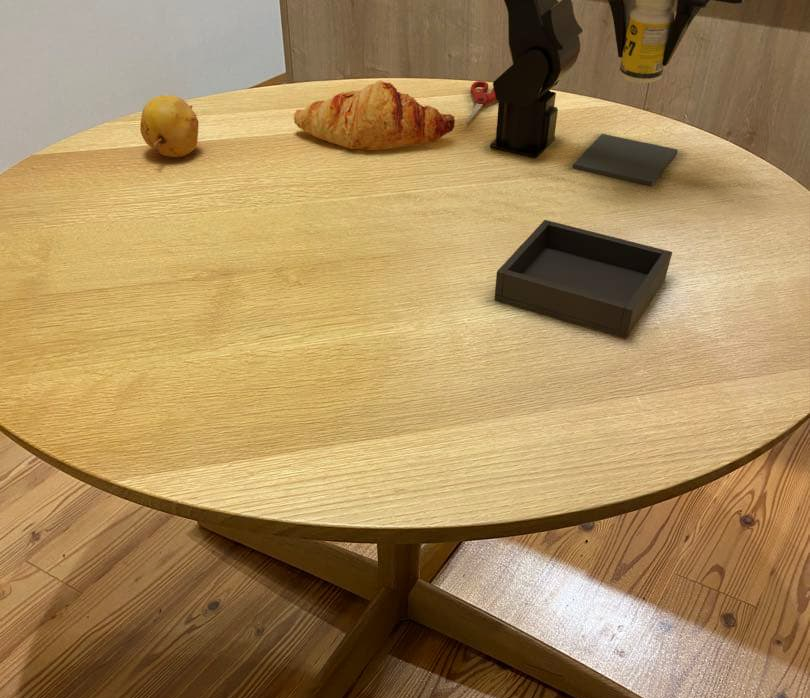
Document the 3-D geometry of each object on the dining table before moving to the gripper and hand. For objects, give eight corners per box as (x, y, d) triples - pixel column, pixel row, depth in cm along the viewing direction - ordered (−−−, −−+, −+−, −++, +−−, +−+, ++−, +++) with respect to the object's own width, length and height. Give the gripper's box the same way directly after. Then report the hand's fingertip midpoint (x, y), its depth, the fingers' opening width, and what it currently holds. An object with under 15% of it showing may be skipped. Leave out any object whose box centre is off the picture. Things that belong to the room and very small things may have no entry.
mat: (572, 167, 97) (572, 163, 96) (601, 137, 103) (602, 133, 102) (651, 185, 94) (652, 181, 93) (677, 153, 99) (677, 149, 99)
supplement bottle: (615, 68, 91) (630, -19, 85) (656, 68, 91) (674, -19, 85) (622, 84, 88) (639, -5, 81) (665, 84, 88) (685, -5, 81)
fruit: (176, 125, 93) (213, 91, 99) (121, 103, 93) (161, 71, 99) (176, 179, 98) (211, 144, 104) (124, 159, 98) (163, 125, 104)
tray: (494, 299, 78) (496, 271, 76) (541, 247, 85) (544, 219, 82) (626, 339, 74) (633, 310, 71) (665, 280, 80) (672, 251, 78)
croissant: (293, 168, 105) (277, 124, 97) (305, 104, 107) (290, 55, 100) (451, 175, 102) (448, 129, 95) (460, 108, 105) (458, 59, 97)
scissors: (511, 91, 113) (511, 83, 112) (486, 129, 104) (486, 121, 103) (474, 86, 114) (474, 79, 113) (446, 124, 105) (446, 116, 105)
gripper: (555, -114, 75) (536, 68, 87) (754, -91, 69) (704, 102, 81) (599, -134, 81) (575, 38, 93) (785, -115, 75) (734, 67, 87)
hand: (642, 60), depth 88 cm, fingers closed on supplement bottle, 5 cm apart
